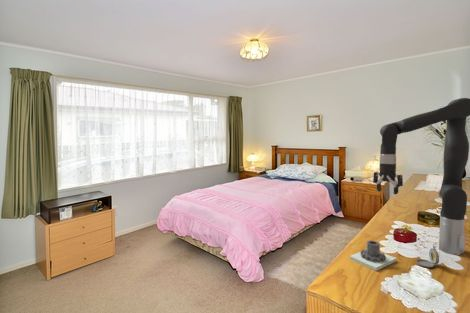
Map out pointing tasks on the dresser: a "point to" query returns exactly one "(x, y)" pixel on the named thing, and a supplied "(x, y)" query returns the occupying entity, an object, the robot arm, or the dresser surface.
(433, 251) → the pocket watch
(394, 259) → the plate
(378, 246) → the planet gear
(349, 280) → the dresser surface
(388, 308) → the dresser surface
